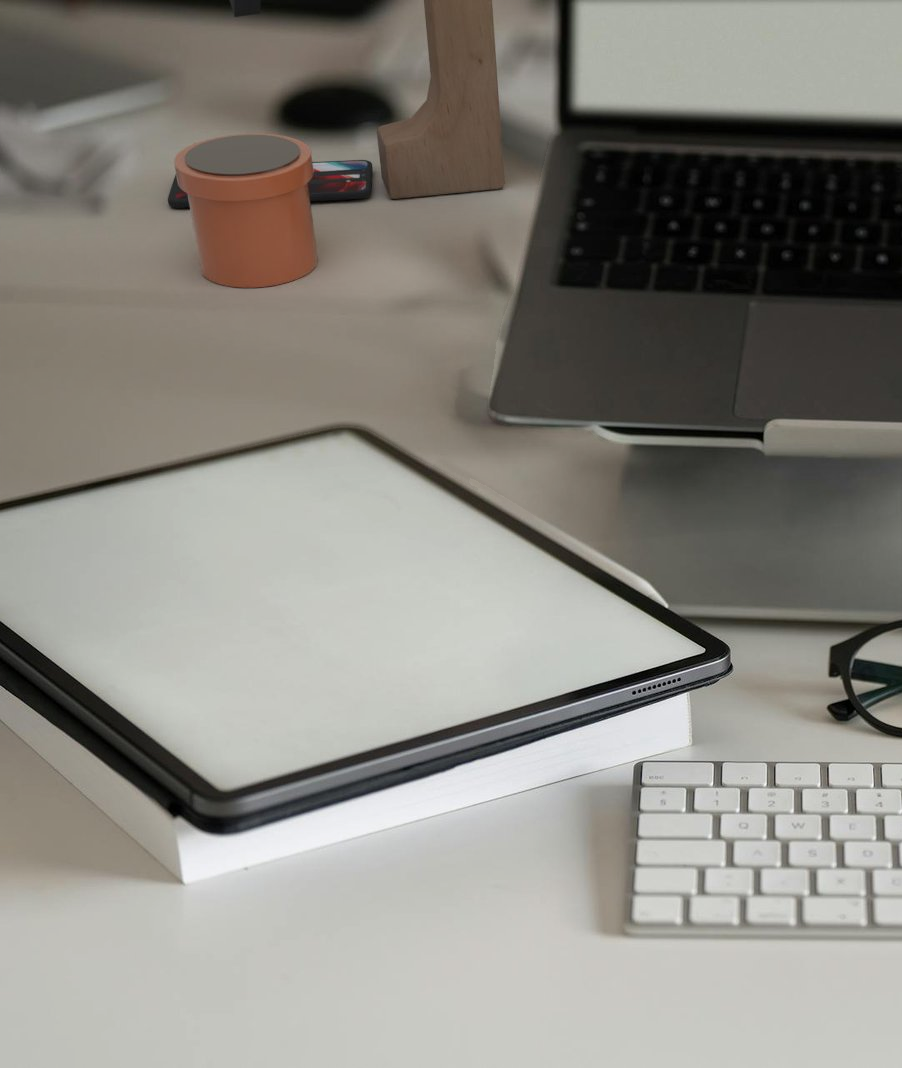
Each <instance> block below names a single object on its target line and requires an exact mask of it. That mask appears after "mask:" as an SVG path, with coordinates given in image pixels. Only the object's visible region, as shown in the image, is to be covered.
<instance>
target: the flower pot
mask: <svg viewBox="0 0 902 1068" xmlns="http://www.w3.org/2000/svg"><path fill="white" fill-rule="evenodd" d="M173 159H174V160H173V166H174V170H175V175H176V177H177V182H178V185H179V187H180V188H181V189H182V190H183V191H184V192H186V193H187V194H188V200H189V206H190V207H189V211H190V216H191V217H190V218H191V222H192V223H191V224H192V228H193V233H194V238H195V245H196V250H197V256H198V263H199V268H200V272H201V274H202V276H204V278H206V279H207V280H209V281H210V282H212V283H215V284H218V285H221V286H226V287H231V288H243V289H252V288H253V289H254V288H265V287H274V286H279V285H283V284H286V283H290V282H293V281H296V280H298V279H300V278H303V277H305V276H306V275H309V273H311V272H312V271H313V270H315V268H316V267H317V265H318V264H319V263H318V262H319V255H318V248H317V239H316V233H315V227H314V219H313V211H312V205H311V204H312V203H311V201H310V196H309V188H308V182H309V181H310V180H311V178H312V177H313V174H314V170H313V162H314V161H313V155H312V150H311V148H310V147H309V146H308V145H307V144H306V143H305V142H303V141H301V140H299V139H297V138H293V137H290V136H286V135H282V134H281V135H280V134H273V133H237V134H229V135H222V136H217V137H216V136H215V137H211V138H208V139H204V140H201V141H198V142H195V143H193V144H191V145H189V146H186V147H185V148H183V149H182V150H180V151H179V152H178V153H177V154H176V155H175V157H174V158H173Z"/></svg>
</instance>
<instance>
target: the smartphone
mask: <svg viewBox="0 0 902 1068" xmlns="http://www.w3.org/2000/svg"><path fill="white" fill-rule="evenodd" d="M312 162H313V170H314V174H313V177H312V178H311V180H310V181H309V182H308V188H309V196H310V202H323V201H344V200H361V199H366V198H369V196H371V194H372V183H373V170H374V169H373V163H372V161H370V160H367V159H349V160H348V159H347V160H346V159H345V160H329V161H327V160H326V161H325V160H323V161H312ZM167 203H168V206H169V207H172V208H177V209H179V208H180V209H181V208H182V209H183V208H190V206H189V200H188V194H187V193H186V192H184V191H183V190H182V189H181V188H180V187H179V185H178V182H177V177H176V174H175V175H174V177H173V181H172V184H171V187H170V190H169V192H168V195H167Z"/></svg>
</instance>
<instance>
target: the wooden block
mask: <svg viewBox="0 0 902 1068" xmlns="http://www.w3.org/2000/svg"><path fill="white" fill-rule="evenodd" d="M423 6H424V19H425V29H426V41H427V52H428V62H429V72H430V73H429V74H430V78H429V83H428V90H427V95H426V99H425V101H424V102H423V103H422V104H421V105H420V107H419V108H418V109H417V111H415V112H414V114H413V115H412V116H411V117H409V118H406V119H402V120H398V121H393V122H391V123H387V124H383V125H380V126H379V127H377V129H376V137H377V145H378V155H379V164H380V174H381V179H382V181H383V184H384V187H385V189H386V192H387V194H388V196H389V198H390V199H393V200H398V199H399V200H400V199H407V198H408V199H409V198H418V197H428V196H437V195H448V194H449V195H450V194H457V193H469V192H478V191H489V190H490V191H491V190H499V189H503V188H504V186H505V184H506V182H505V181H506V180H505V170H504V169H505V168H504V167H505V166H504V155H503V140H502V139H503V138H502V126H501V112H500V111H501V110H500V98H499V97H500V96H499V79H498V68H497V67H498V66H497V53H496V52H497V51H496V38H495V24H494V8H493V7H494V6H493V0H423Z"/></svg>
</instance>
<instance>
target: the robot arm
mask: <svg viewBox="0 0 902 1068" xmlns="http://www.w3.org/2000/svg"><path fill="white" fill-rule="evenodd" d="M261 1H262V0H229V3H230V6H231V9H232V13H233V16H234V18H238V17H239V18H240V17H246V16H247V17H248V16H253V15H254V16H255V15H261V12H262V11H261V5H262V4H261V3H262V2H261Z"/></svg>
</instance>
